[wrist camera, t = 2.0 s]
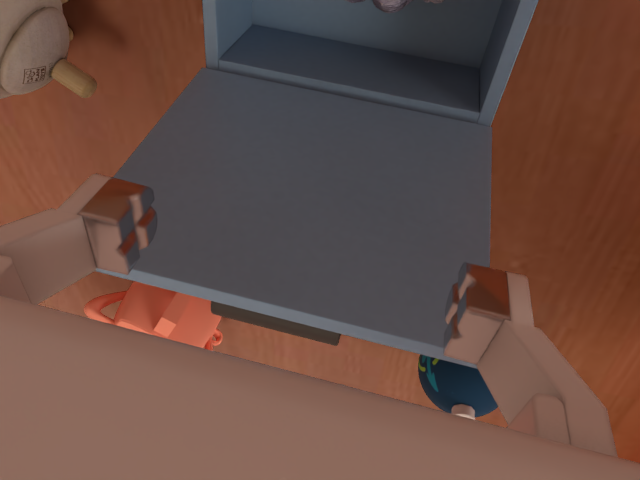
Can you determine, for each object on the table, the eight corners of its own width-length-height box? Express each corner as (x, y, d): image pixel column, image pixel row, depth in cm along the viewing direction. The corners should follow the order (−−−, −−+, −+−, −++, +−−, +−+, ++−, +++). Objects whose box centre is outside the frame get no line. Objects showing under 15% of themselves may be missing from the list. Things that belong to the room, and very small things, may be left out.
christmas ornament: (484, 295, 45) (485, 391, 38) (525, 349, 49) (533, 446, 42) (406, 319, 50) (393, 409, 43) (448, 366, 53) (443, 457, 46)
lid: (53, 249, 19) (89, 321, 23) (488, 359, 17) (448, 417, 21) (202, 67, 28) (209, 139, 32) (492, 126, 27) (464, 195, 31)
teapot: (158, 323, 61) (116, 392, 54) (117, 252, 54) (63, 321, 47) (244, 331, 58) (211, 405, 51) (213, 256, 50) (170, 332, 43)
